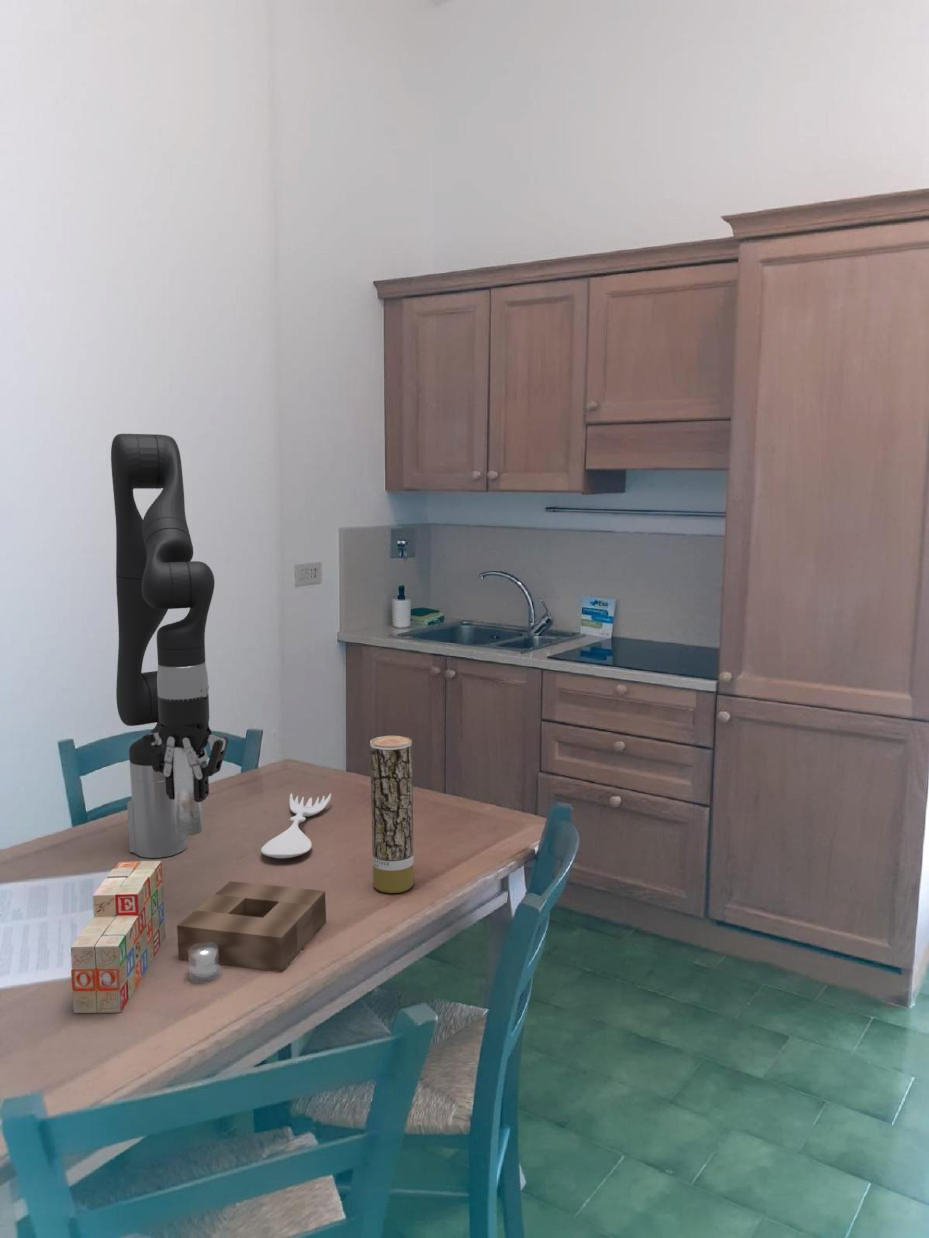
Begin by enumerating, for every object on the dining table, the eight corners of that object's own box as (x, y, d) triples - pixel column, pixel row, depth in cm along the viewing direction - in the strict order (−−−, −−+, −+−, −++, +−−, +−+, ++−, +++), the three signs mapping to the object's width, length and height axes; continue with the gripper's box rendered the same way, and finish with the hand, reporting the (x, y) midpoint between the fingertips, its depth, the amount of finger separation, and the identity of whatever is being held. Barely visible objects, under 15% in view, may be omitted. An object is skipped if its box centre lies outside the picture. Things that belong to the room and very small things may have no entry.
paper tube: (398, 898, 162) (395, 748, 159) (364, 889, 166) (361, 743, 162) (421, 883, 168) (419, 739, 164) (389, 875, 172) (386, 733, 168)
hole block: (178, 958, 143) (177, 925, 142) (231, 911, 158) (230, 881, 157) (282, 971, 139) (281, 937, 138) (326, 921, 154) (325, 890, 153)
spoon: (333, 807, 208) (333, 791, 207) (306, 867, 176) (305, 848, 175) (290, 807, 208) (289, 791, 207) (255, 867, 176) (254, 848, 176)
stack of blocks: (122, 1014, 128) (116, 923, 127) (72, 1015, 128) (66, 924, 126) (166, 937, 149) (162, 858, 148) (124, 938, 149) (119, 859, 148)
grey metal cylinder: (184, 981, 136) (182, 953, 136) (198, 967, 140) (197, 940, 140) (210, 984, 135) (209, 957, 135) (224, 970, 139) (223, 943, 139)
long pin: (171, 834, 155) (166, 747, 153) (184, 825, 159) (180, 740, 157) (194, 836, 154) (190, 749, 152) (207, 827, 158) (203, 742, 156)
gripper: (128, 694, 151) (133, 803, 154) (213, 699, 148) (217, 811, 150) (154, 684, 158) (160, 788, 161) (236, 689, 155) (240, 795, 158)
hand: (187, 798), depth 156 cm, fingers closed on long pin, 4 cm apart
